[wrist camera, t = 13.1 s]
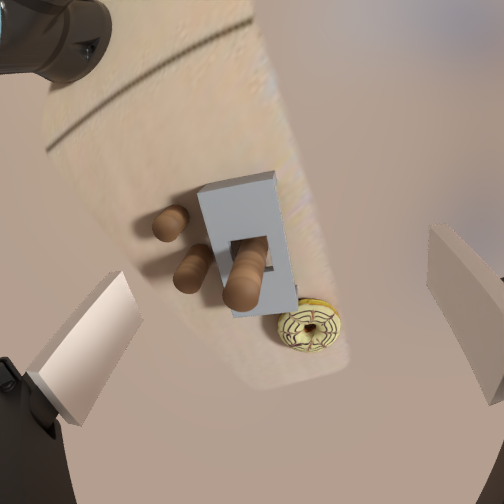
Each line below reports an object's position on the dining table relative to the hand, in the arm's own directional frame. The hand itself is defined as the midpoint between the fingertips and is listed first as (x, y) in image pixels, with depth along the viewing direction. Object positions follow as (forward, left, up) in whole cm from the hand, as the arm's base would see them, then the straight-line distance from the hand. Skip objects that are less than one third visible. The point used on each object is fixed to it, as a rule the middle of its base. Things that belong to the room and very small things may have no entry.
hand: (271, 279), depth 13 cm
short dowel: (+6, -18, -33) cm, 38 cm away
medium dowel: (+13, -16, -33) cm, 39 cm away
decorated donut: (+28, -1, -33) cm, 43 cm away
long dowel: (+12, -7, -33) cm, 36 cm away
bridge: (+12, -7, -33) cm, 36 cm away
